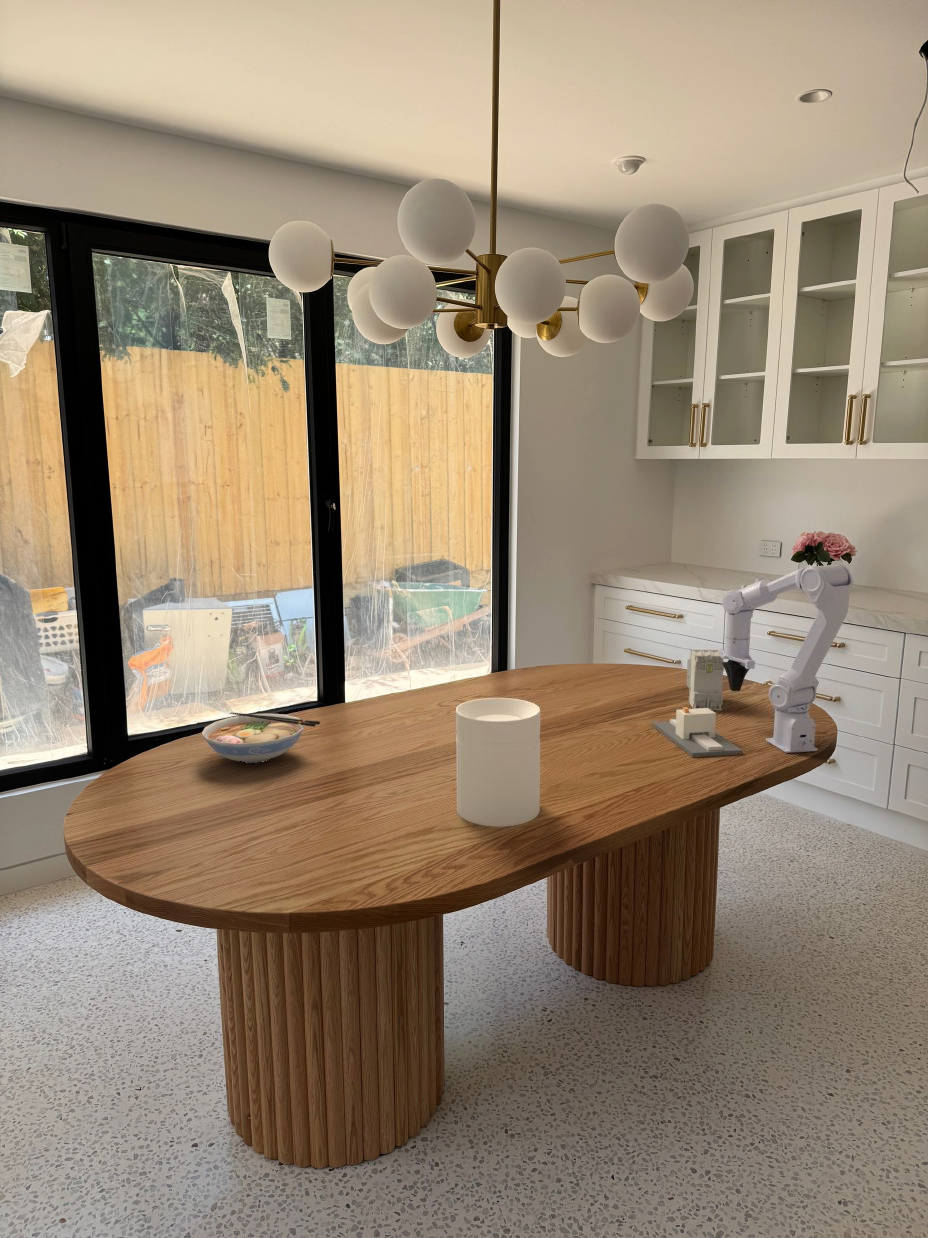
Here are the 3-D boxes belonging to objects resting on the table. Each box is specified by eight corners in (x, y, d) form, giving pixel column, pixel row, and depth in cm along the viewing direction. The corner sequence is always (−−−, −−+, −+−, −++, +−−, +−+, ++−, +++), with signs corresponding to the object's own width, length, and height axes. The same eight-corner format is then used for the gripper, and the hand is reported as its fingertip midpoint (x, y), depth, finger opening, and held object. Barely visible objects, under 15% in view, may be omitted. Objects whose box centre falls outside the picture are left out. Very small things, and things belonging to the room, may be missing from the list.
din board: (741, 754, 188) (742, 746, 187) (692, 757, 186) (692, 749, 186) (696, 723, 211) (697, 716, 211) (652, 726, 209) (652, 719, 209)
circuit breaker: (711, 696, 237) (713, 645, 234) (721, 710, 223) (724, 656, 220) (685, 695, 238) (687, 645, 235) (693, 709, 224) (695, 655, 221)
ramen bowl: (177, 766, 183) (175, 731, 182) (246, 737, 203) (244, 705, 202) (266, 783, 172) (264, 746, 171) (330, 751, 193) (328, 717, 191)
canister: (556, 809, 158) (558, 708, 155) (500, 834, 147) (499, 727, 144) (496, 787, 169) (496, 693, 166) (439, 809, 158) (438, 709, 155)
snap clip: (702, 736, 197) (702, 731, 197) (692, 736, 197) (693, 731, 197) (696, 732, 200) (697, 727, 200) (687, 732, 200) (687, 728, 199)
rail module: (714, 737, 197) (716, 709, 196) (683, 739, 196) (684, 710, 194) (706, 731, 201) (707, 704, 200) (675, 733, 200) (676, 705, 199)
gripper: (709, 632, 211) (707, 684, 213) (736, 644, 197) (733, 698, 199) (735, 631, 212) (732, 682, 214) (764, 642, 198) (761, 697, 200)
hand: (735, 690), depth 207 cm, fingers closed
